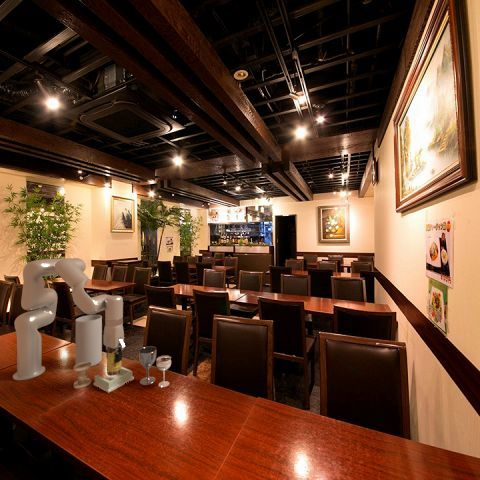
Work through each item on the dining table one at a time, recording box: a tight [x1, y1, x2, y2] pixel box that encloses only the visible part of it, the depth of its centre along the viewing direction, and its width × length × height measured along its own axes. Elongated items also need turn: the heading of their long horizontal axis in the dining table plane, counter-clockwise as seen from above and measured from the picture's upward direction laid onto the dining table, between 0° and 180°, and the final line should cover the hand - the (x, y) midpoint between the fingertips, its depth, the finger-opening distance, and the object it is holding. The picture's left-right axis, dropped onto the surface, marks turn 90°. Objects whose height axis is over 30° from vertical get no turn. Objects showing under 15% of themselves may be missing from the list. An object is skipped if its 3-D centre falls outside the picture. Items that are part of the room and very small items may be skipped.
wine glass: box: [138, 345, 157, 386], centre depth 122 cm, size 8×8×15 cm
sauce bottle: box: [106, 345, 122, 376], centre depth 121 cm, size 7×6×20 cm
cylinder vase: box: [75, 314, 103, 368], centre depth 140 cm, size 12×12×25 cm
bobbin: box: [73, 362, 92, 389], centre depth 119 cm, size 7×7×9 cm
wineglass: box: [155, 355, 172, 388], centre depth 119 cm, size 7×7×12 cm
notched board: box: [93, 366, 135, 394], centre depth 121 cm, size 12×13×4 cm
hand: (114, 359), depth 121 cm, fingers closed on sauce bottle, 6 cm apart
